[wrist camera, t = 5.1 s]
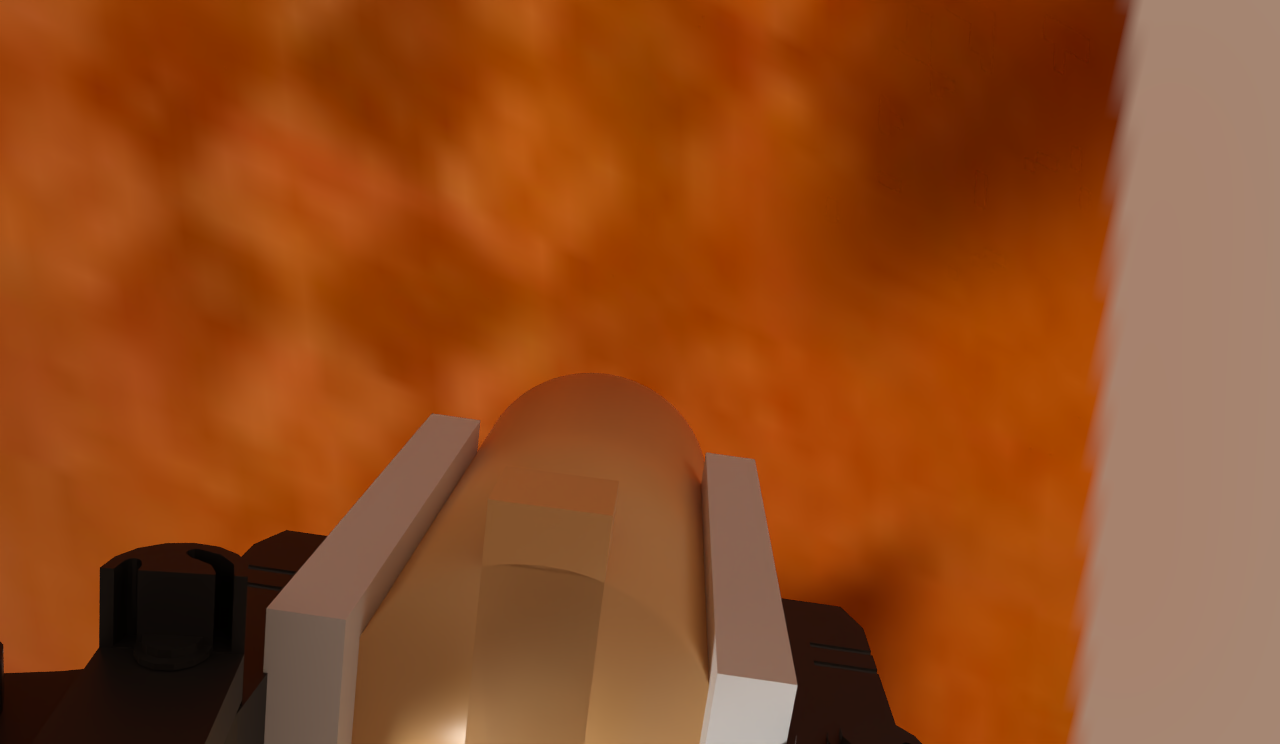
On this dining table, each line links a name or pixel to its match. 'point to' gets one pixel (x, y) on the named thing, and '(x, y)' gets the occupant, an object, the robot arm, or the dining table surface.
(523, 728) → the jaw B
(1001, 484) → the dining table surface
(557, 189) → the dining table surface
